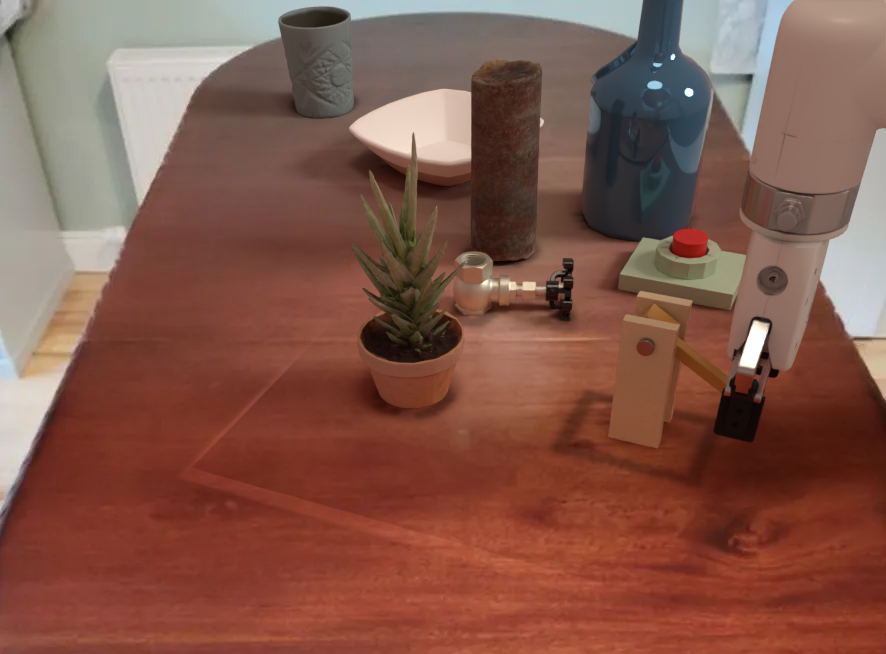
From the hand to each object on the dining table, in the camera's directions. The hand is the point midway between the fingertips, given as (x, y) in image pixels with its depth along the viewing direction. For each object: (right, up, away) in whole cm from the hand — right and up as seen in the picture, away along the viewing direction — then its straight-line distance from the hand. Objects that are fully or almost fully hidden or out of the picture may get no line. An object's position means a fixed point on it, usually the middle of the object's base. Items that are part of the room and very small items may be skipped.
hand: (746, 403), depth 82 cm
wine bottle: (-2, +29, +37) cm, 47 cm away
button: (+1, +21, +24) cm, 31 cm away
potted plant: (-27, +2, +12) cm, 30 cm away
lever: (-5, +3, 0) cm, 5 cm away
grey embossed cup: (-42, +56, +65) cm, 96 cm away
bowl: (-24, +41, +50) cm, 69 cm away
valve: (-18, +13, +22) cm, 31 cm away
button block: (+1, +18, +26) cm, 32 cm away
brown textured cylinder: (-18, +23, +32) cm, 43 cm away
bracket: (-7, -2, +7) cm, 10 cm away
